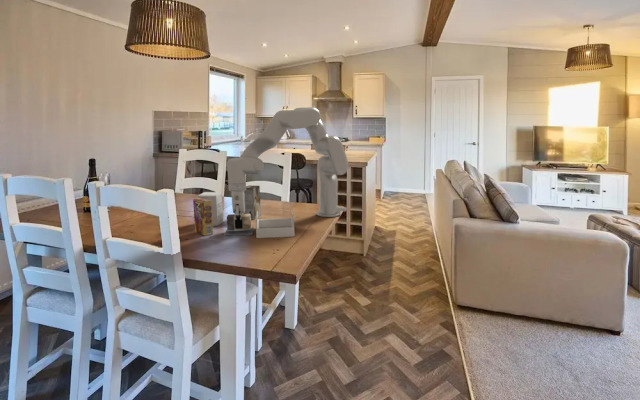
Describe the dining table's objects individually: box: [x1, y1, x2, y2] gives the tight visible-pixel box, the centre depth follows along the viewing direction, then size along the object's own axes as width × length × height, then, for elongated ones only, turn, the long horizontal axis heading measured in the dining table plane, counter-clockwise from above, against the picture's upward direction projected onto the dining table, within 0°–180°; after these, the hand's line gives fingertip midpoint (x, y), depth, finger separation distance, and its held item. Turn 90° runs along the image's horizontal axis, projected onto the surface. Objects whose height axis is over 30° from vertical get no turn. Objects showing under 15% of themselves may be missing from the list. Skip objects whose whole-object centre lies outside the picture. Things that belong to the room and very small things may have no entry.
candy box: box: [192, 197, 214, 237], centre depth 170 cm, size 9×4×15 cm, turn 47°
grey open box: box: [255, 209, 295, 239], centre depth 172 cm, size 16×16×8 cm
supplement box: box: [197, 191, 224, 227], centre depth 185 cm, size 9×9×15 cm
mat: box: [224, 227, 254, 237], centre depth 172 cm, size 12×10×1 cm
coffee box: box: [243, 185, 262, 221], centre depth 197 cm, size 9×6×16 cm
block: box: [226, 213, 252, 231], centre depth 171 cm, size 10×5×6 cm, turn 97°
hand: (239, 226), depth 172 cm, fingers closed on block, 4 cm apart
